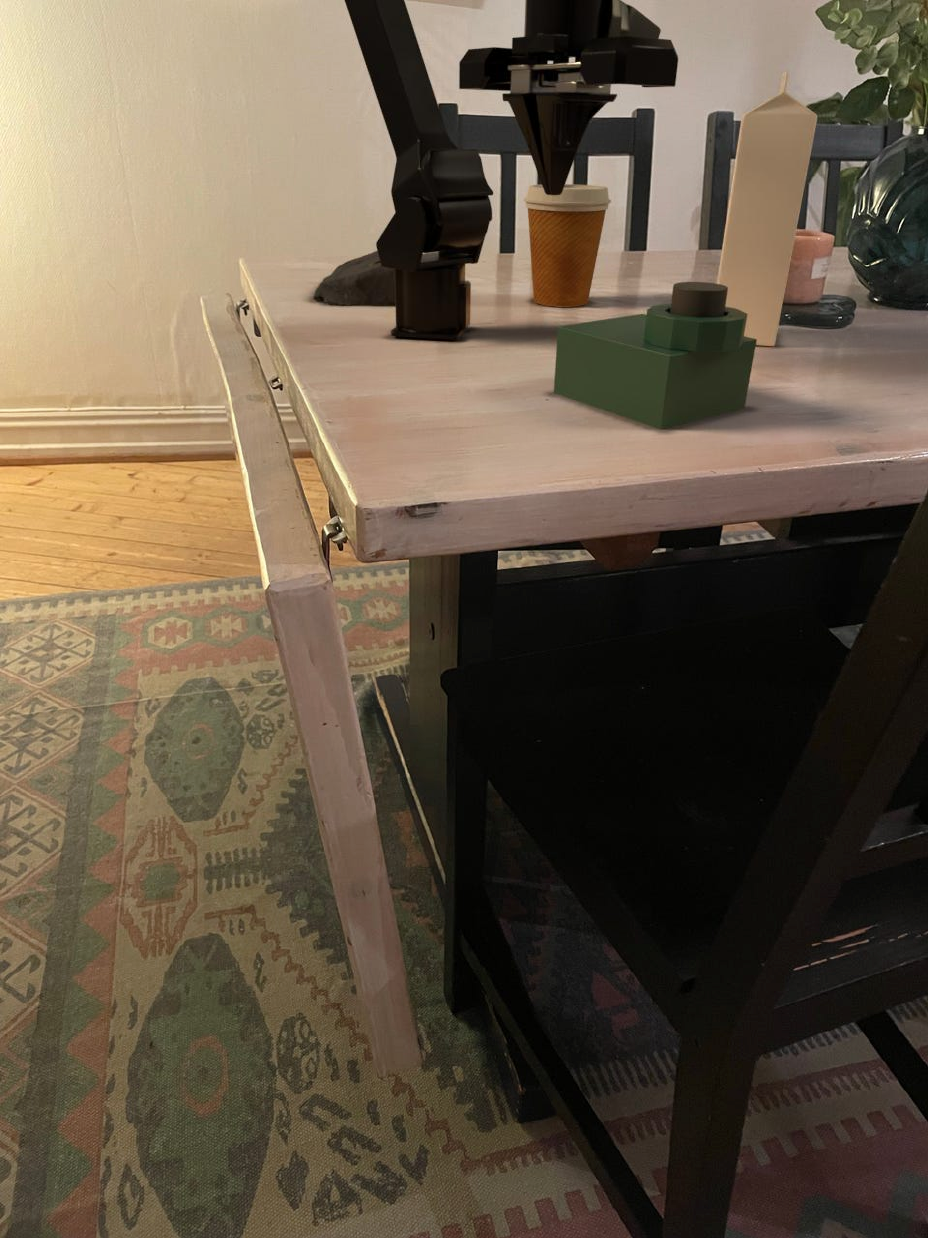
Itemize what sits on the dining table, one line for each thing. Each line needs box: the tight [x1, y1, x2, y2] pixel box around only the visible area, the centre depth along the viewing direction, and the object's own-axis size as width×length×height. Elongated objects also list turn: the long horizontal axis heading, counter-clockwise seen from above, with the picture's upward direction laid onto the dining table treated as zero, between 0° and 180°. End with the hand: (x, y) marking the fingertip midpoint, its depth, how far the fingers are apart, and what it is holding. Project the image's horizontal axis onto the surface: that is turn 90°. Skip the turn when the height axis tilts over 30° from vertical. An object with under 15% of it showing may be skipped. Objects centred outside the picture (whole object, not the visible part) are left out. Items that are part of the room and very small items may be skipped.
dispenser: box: [553, 302, 757, 431], centre depth 62 cm, size 12×9×7 cm
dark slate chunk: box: [313, 250, 395, 306], centre depth 105 cm, size 15×22×5 cm
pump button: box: [670, 281, 728, 318], centre depth 58 cm, size 4×4×2 cm
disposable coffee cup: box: [523, 183, 612, 308], centre depth 97 cm, size 10×10×12 cm
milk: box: [716, 69, 818, 347], centre depth 79 cm, size 6×6×22 cm
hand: (553, 194), depth 69 cm, fingers closed
